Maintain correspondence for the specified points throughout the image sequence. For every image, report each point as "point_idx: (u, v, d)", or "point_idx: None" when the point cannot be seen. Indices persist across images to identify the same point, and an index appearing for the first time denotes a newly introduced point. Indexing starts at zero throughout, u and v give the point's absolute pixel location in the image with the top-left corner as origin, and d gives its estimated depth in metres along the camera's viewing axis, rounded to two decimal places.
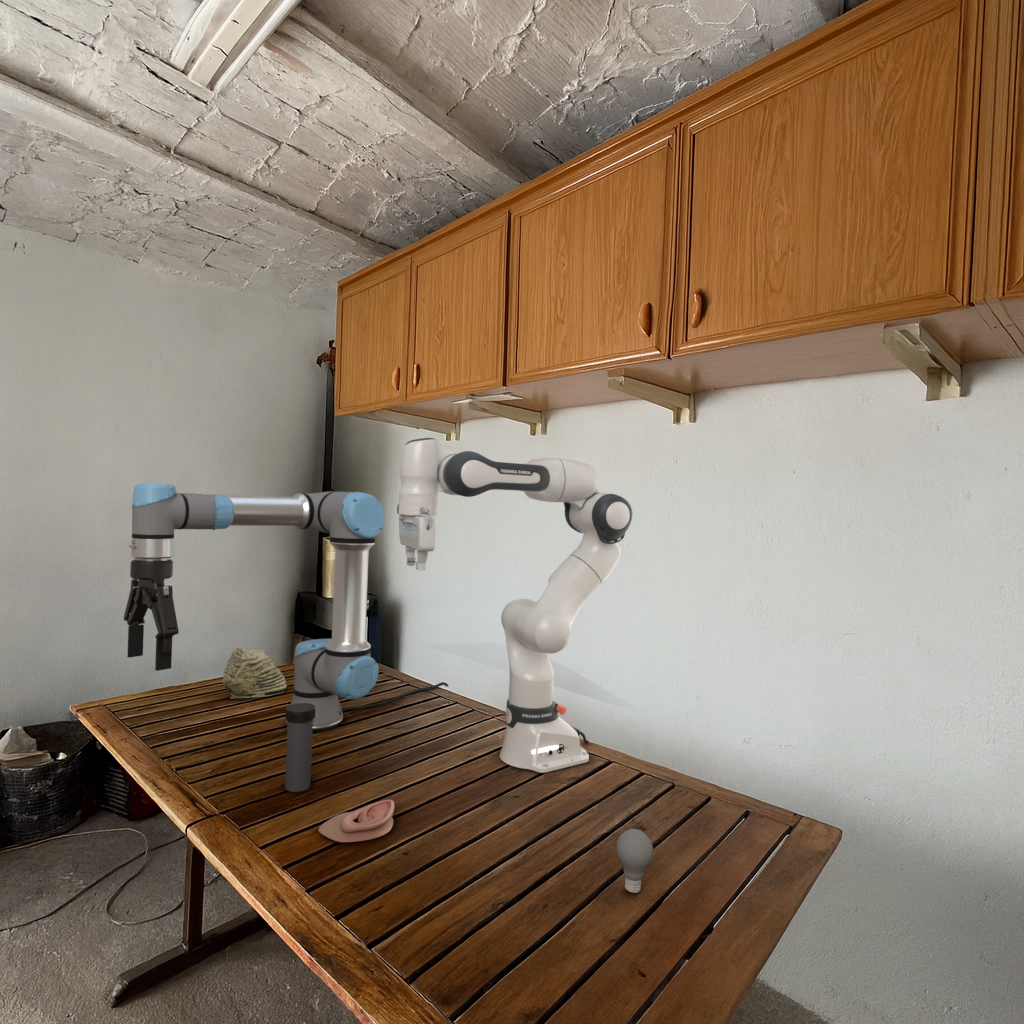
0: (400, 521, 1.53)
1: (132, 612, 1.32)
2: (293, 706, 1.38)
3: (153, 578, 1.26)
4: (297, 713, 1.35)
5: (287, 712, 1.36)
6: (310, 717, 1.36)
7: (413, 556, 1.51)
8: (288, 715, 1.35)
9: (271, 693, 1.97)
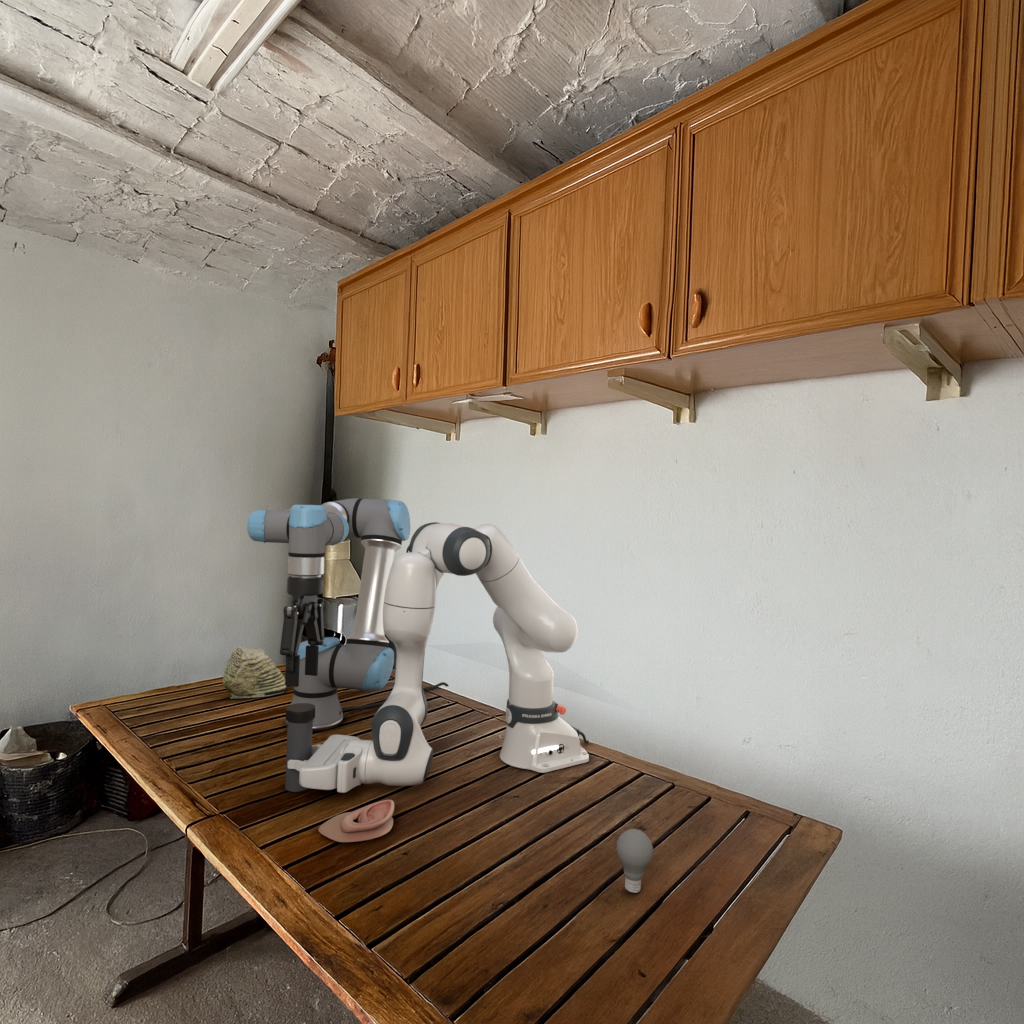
0: None
1: None
2: (293, 706, 1.38)
3: (292, 594, 1.34)
4: (297, 713, 1.35)
5: (287, 712, 1.36)
6: (310, 717, 1.36)
7: None
8: (288, 715, 1.35)
9: (271, 693, 1.97)
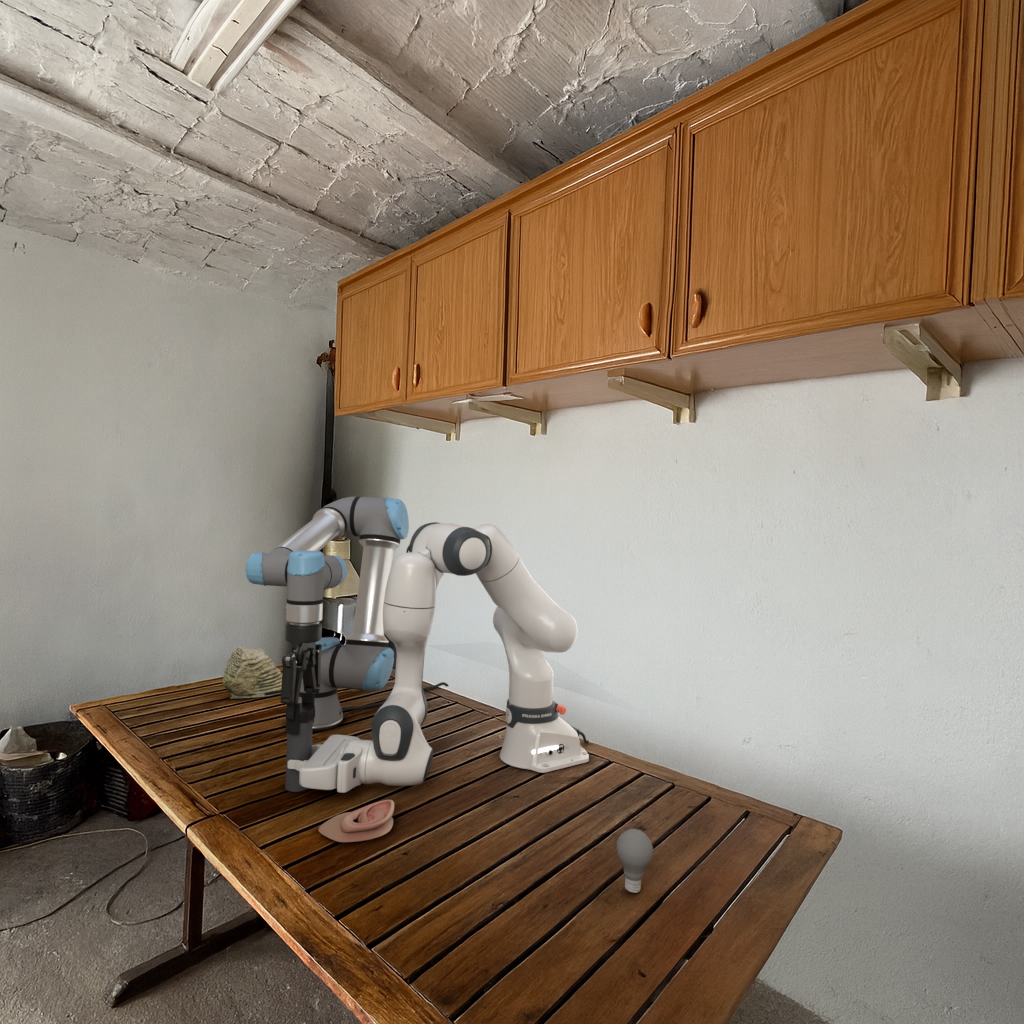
0: None
1: None
2: None
3: (290, 641, 1.34)
4: None
5: None
6: (310, 717, 1.36)
7: None
8: None
9: (271, 693, 1.97)
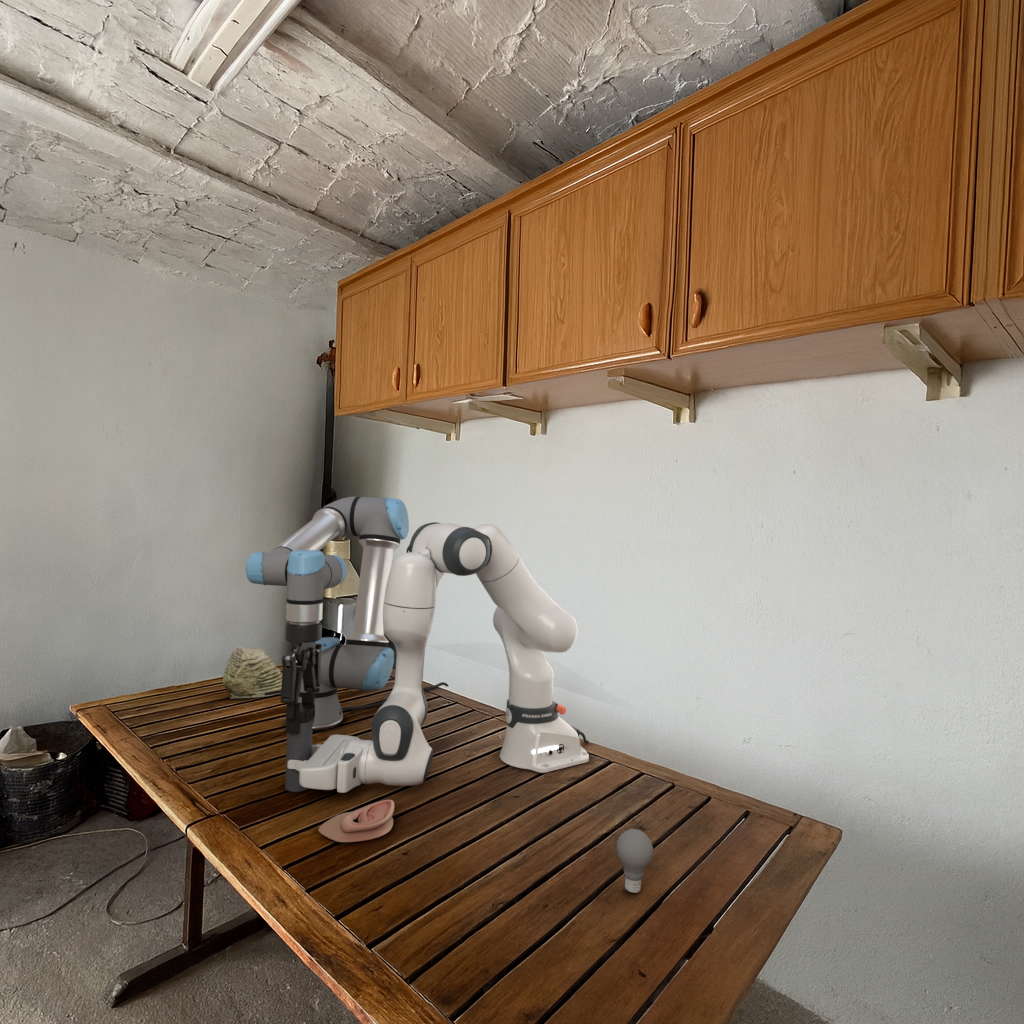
0: None
1: None
2: None
3: (290, 641, 1.34)
4: (314, 708, 1.38)
5: (306, 713, 1.36)
6: None
7: None
8: (308, 714, 1.36)
9: (271, 693, 1.97)
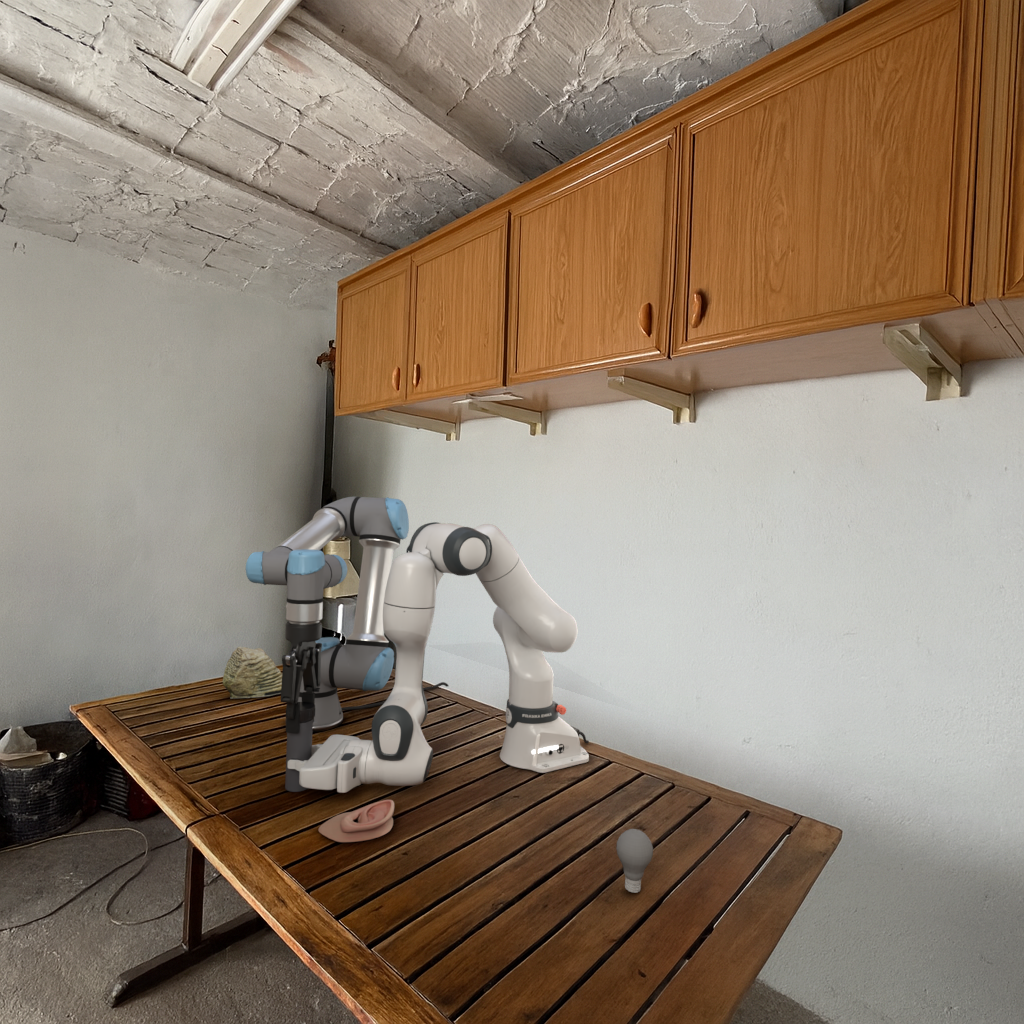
0: None
1: None
2: (308, 706, 1.37)
3: (290, 640, 1.34)
4: None
5: None
6: None
7: None
8: None
9: (271, 693, 1.97)
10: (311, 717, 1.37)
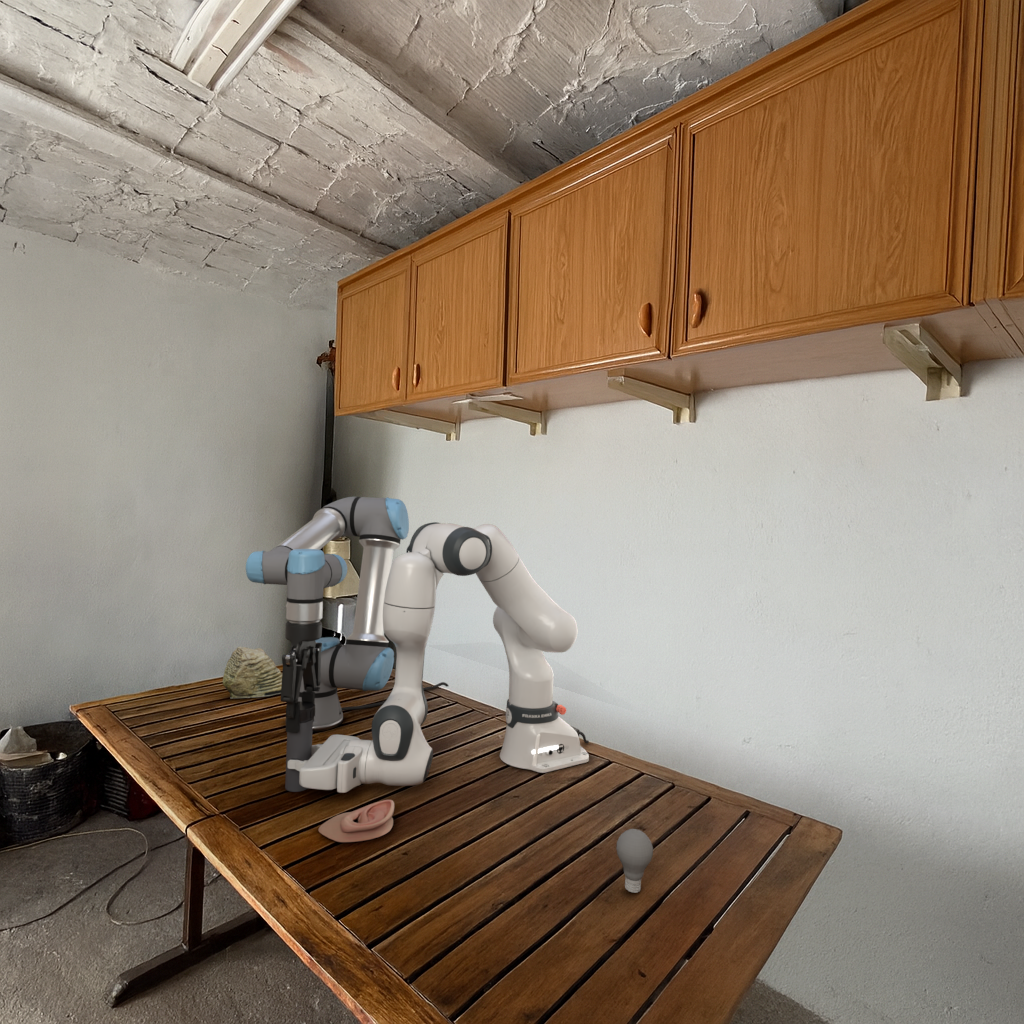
0: None
1: None
2: (304, 703, 1.39)
3: (290, 639, 1.34)
4: None
5: None
6: None
7: None
8: None
9: (271, 693, 1.97)
10: None
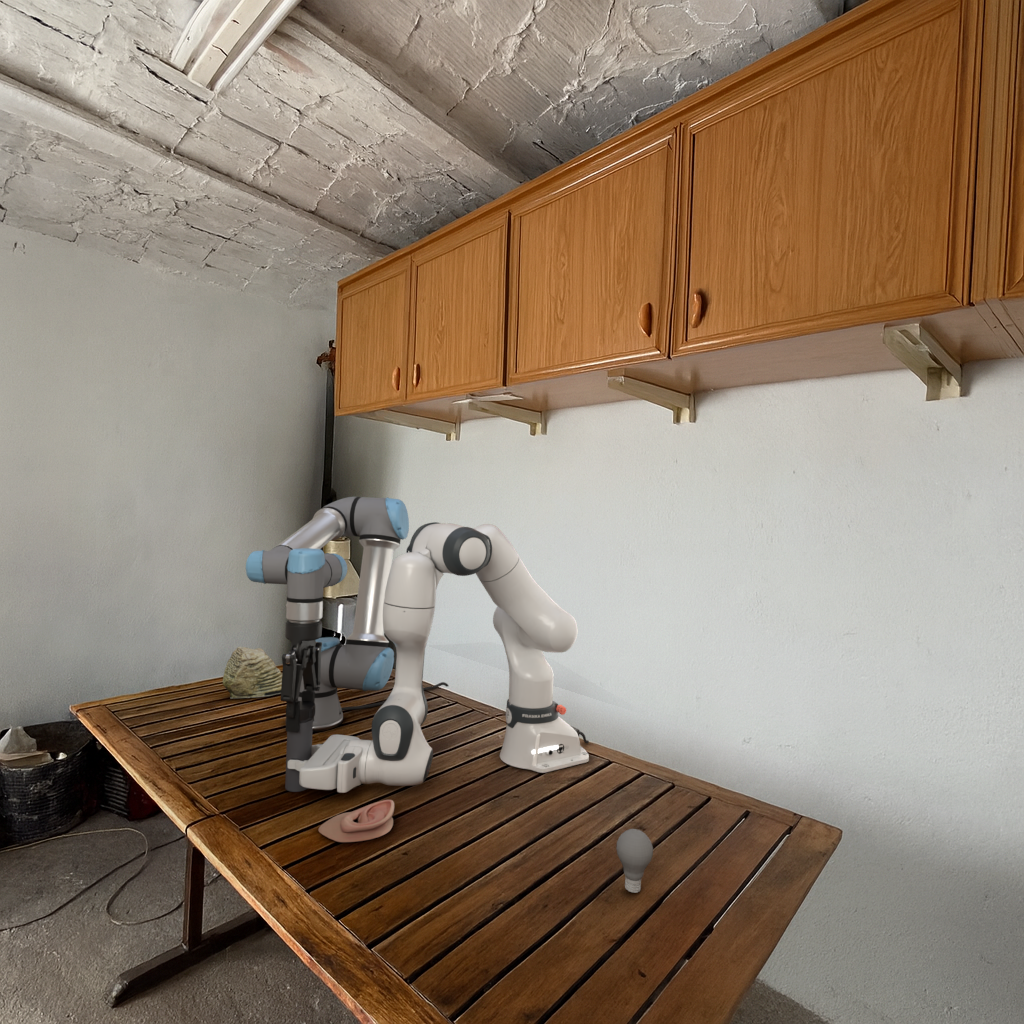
0: None
1: None
2: None
3: (290, 639, 1.34)
4: None
5: None
6: (310, 715, 1.36)
7: None
8: None
9: (271, 693, 1.97)
10: None
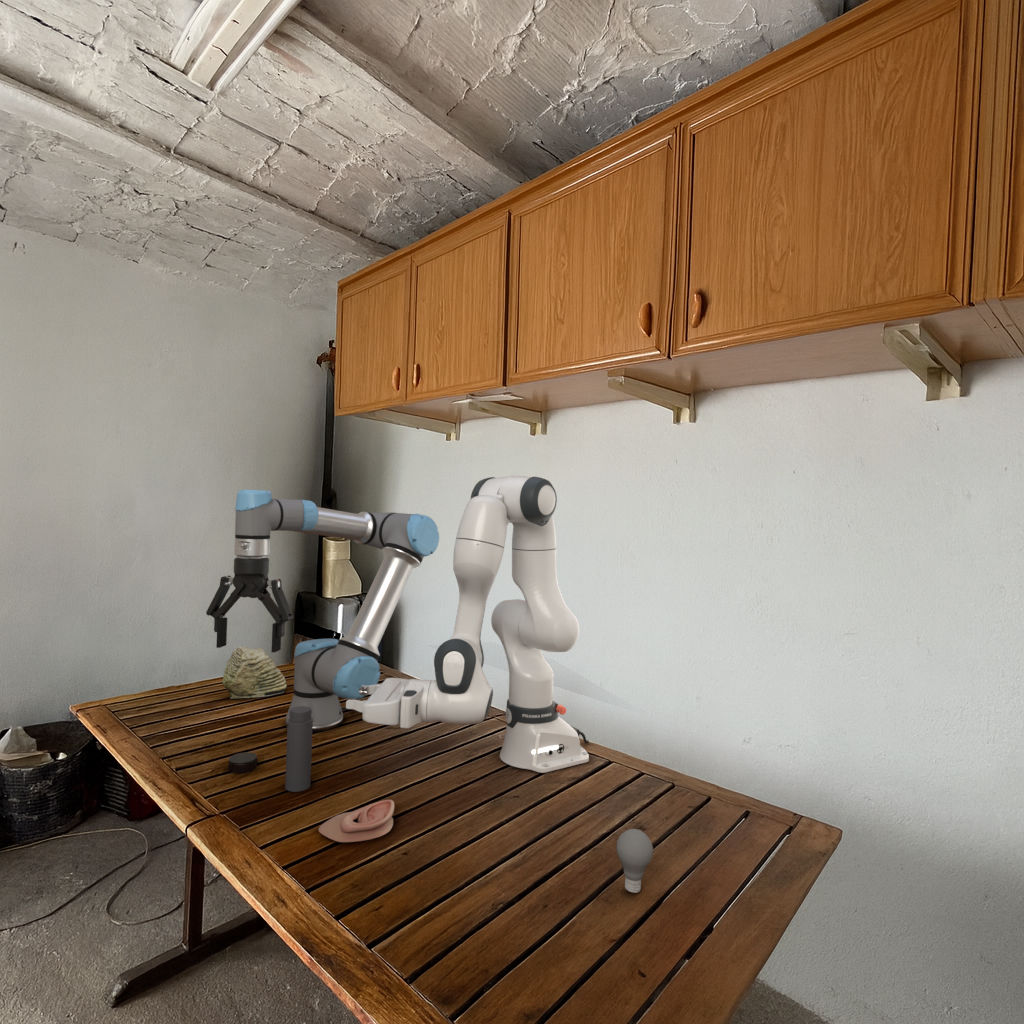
0: None
1: (224, 606, 1.45)
2: (250, 758, 1.46)
3: (263, 573, 1.44)
4: None
5: None
6: None
7: None
8: None
9: (271, 693, 1.97)
10: (252, 768, 1.45)
